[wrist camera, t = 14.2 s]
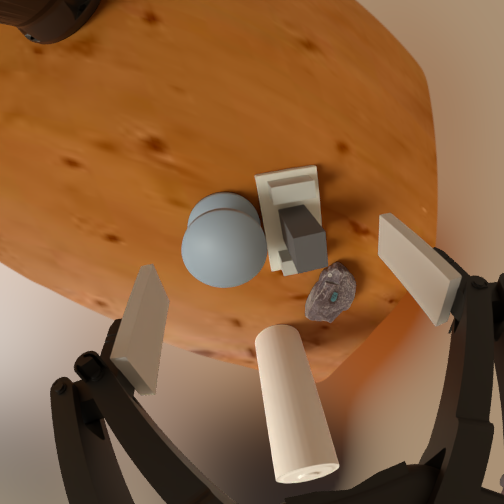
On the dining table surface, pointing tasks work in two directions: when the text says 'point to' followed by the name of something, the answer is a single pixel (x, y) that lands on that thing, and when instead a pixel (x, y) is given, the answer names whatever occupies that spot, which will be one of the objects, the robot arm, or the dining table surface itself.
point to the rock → (331, 294)
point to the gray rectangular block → (303, 238)
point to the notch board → (283, 196)
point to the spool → (224, 241)
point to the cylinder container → (293, 408)
